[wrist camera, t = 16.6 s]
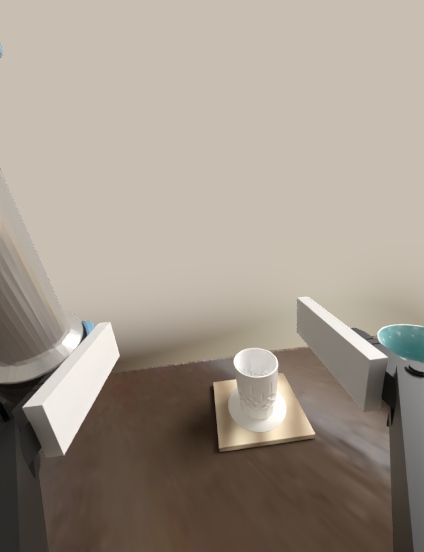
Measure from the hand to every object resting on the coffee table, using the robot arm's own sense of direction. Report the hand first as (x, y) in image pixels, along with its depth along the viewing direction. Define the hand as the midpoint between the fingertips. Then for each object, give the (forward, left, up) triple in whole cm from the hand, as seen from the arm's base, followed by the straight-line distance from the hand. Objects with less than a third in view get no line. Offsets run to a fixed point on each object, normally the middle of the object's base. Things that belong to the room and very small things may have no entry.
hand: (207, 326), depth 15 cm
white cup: (-1, +20, -29) cm, 35 cm away
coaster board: (-2, +20, -30) cm, 36 cm away
